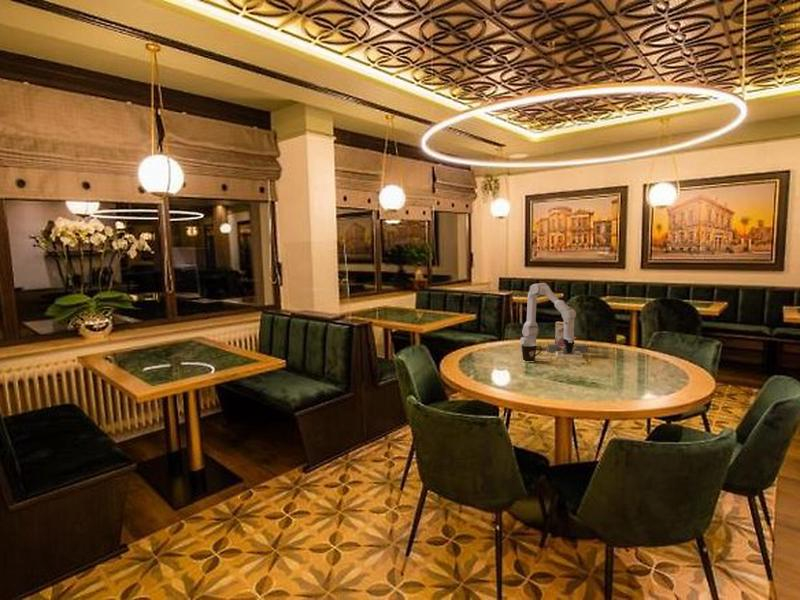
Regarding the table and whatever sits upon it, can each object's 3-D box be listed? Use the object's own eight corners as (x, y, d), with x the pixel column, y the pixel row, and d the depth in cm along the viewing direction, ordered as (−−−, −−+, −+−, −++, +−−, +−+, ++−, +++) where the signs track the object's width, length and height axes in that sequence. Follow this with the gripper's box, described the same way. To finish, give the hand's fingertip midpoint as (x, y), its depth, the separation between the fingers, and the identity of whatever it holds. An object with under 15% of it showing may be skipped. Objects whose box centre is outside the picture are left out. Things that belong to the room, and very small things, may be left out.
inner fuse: (557, 351, 289) (557, 344, 289) (558, 352, 286) (558, 345, 285) (547, 351, 291) (547, 343, 290) (548, 352, 287) (548, 345, 286)
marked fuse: (573, 353, 278) (573, 345, 278) (574, 354, 274) (574, 347, 274) (563, 353, 280) (563, 345, 279) (563, 354, 276) (563, 346, 275)
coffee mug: (521, 363, 267) (521, 346, 266) (521, 359, 276) (521, 342, 275) (542, 363, 265) (542, 346, 264) (541, 360, 273) (541, 343, 272)
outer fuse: (585, 351, 286) (585, 344, 285) (586, 353, 282) (586, 345, 281) (574, 351, 287) (574, 344, 287) (575, 352, 283) (575, 345, 283)
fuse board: (587, 352, 287) (587, 346, 286) (589, 355, 281) (589, 348, 280) (545, 352, 292) (545, 346, 292) (545, 354, 286) (545, 348, 286)
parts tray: (579, 355, 281) (579, 351, 280) (582, 359, 271) (582, 355, 271) (555, 355, 284) (555, 351, 283) (557, 359, 274) (557, 354, 274)
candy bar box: (554, 347, 305) (554, 322, 303) (556, 345, 309) (556, 321, 307) (572, 348, 299) (572, 323, 297) (574, 347, 303) (574, 322, 301)
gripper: (577, 332, 267) (577, 355, 269) (574, 327, 282) (574, 349, 283) (564, 331, 269) (564, 355, 271) (562, 327, 283) (561, 349, 285)
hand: (568, 352), depth 277 cm, fingers closed on marked fuse, 4 cm apart
